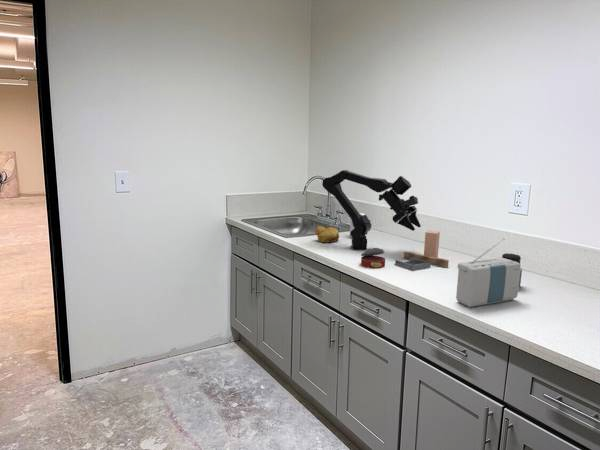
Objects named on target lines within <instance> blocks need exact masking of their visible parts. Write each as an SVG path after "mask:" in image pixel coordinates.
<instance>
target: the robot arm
mask: <svg viewBox="0 0 600 450" xmlns="http://www.w3.org/2000/svg"><path fill="white" fill-rule="evenodd" d="M345 180H346V181H349V182H353V183H356V184H359V185H362V186H365V187H367V188H369V189H370V190H372V191H374V192H375V193H380V194H378V201H383V200H384V201H385V203H386V204H388V206H389V209H390V211H391V210H392V211H394V213H395V215H393V216H392V221H393V223H395V224H398V225H400V226H402V227H404V228H406V229H409V230H411V231H412V232H414V231H416V228H415V227H414V225H415V226H416V227H417V228H421V226H422V225H421V223H420V222H419V219H418V217H417V212H418V208H417V207H416V206H415V205H418V204H419V200H418V199H419V198H418V197H417V196H415V195H410V196H409V198H408V199H406V200H405V199H403V198H400V196H402V195H405V193H406V192H407V191H408V190H409V189H411V188H412V184H411V182H410V181H409V180H407V179H406V178H405V177H404V176H402V175H399V176H398V178H397V179H396V180H395V181H394V182H390V181H388V180H387V179H386V178H378V177H369V176H366V175H362V174H360V173H356V172H353V171H350V170H348V169H343V170H340V171H339V172H337V173H335V174H333V175H332V176H328V177H325V178H324V179H323V180H322V188H323V189H324V190H325V191H327V193H329V194H331V195H332V196H333V197H334V198H335V199H336V200H337V202H338V203H339V204H340V206H341V208H343V210H344V211H345V213H346V214H347V215H348V217H349V218H351V219H352V223H353V226H354V229H353V230H352V231H351V232H350V231H349V235H350V234H351V237H352V239H351V245H350V246H349V247H350V248H351V249H352V250H354V251H356V250H358V251H359V250H363V251H364V250H365V251H366V250H368V248H367V247H368V239H367V235H368V233H369V232H370V231H371V230H372V223H371V222H372V220H370V219H369V217H368V216H367V214H365V215H363V216H362V215H361V214H359V213H360V212H359V211H358V210H357V208H356V207H355V206H354V205H353V203H352V202H351V200H350V199H349V198H348V196H347V195H346V194H345V193H344V191H343V189H342V185H341V183H343V182H344V181H345ZM389 189H390V190H389ZM382 192H383V193H382ZM381 193H382V194H381ZM399 195H400V196H399ZM351 237H350V238H351Z"/></svg>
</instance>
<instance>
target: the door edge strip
mask: <svg viewBox="0 0 600 450" xmlns="http://www.w3.org/2000/svg"><path fill="white" fill-rule="evenodd" d="M412 257H414V258H417V259H420V260H424V261H427V262H430V263H431V266H434V267H435V266H436V267H440V268H444V269H447V268H449V262H450V260H449V259H445V258H440V257H438V258H436V257H431V256H426V255H424V254H421V253H416V252H413V251H412V252H411V251H407V250H406V251H403V255H402V258H403V260H408V261H411V258H412Z"/></svg>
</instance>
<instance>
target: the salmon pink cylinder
mask: <svg viewBox="0 0 600 450" xmlns="http://www.w3.org/2000/svg"><path fill="white" fill-rule="evenodd" d="M440 235H441V231H436V230H430V229H429V230H427V231H425V233H424V247H423V248H424V249H423V255H426V256H431V257H436V258H439V248H440V247H439V246H440Z"/></svg>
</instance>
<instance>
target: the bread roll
mask: <svg viewBox="0 0 600 450" xmlns="http://www.w3.org/2000/svg"><path fill="white" fill-rule="evenodd" d="M315 235H316V237H317V240H318V241H319V242H320V243H326V244H327V243H334V242H337V241H338V240H339V239H340V234H339V230H338V229H337V228H336V227H330V226H329V227H324V226H322V225H317V226H315Z"/></svg>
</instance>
